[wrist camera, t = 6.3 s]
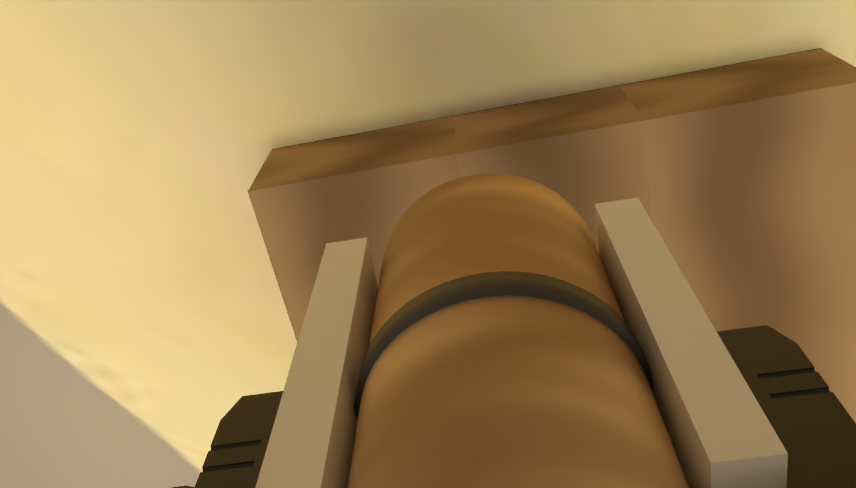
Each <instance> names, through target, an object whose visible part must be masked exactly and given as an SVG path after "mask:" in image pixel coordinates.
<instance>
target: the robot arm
mask: <svg viewBox="0 0 856 488" xmlns="http://www.w3.org/2000/svg"><path fill="white" fill-rule="evenodd" d="M595 214H596V227H597V239H598V251H599V256H600V258H601V261H602V264H603V266H604V269H605V271H606V274H607V276H608V279H609V282H610V284H611V287H612V289H613V292H614V295H615V297H616V300H617V302H618V305H619V307H620V310H621V313H622V315H623V318H624V320H625V322H626V323H627V325H628V326H629V328H630V329H631V330H632V332H633V333H634V335H635V336H636V338H637V340H638V342H639V344H640V346H641V348H642V350H643V353H644V355H645V358H646V360H647V363H648V365H649V368H650V370H651V373H652V377H653V395H654V398H655V400H656V403H657V405H658V408H659V410H660V413H661V416H662V418H663V421H664V423H665V426H666V429H667V431H668V434H669V436H670V439H671V441H672V444H673V447H674V449H675V452H676V454H677V457H678V459H679V462H680V465H681V467H682V470H683V472H684V475H685V477H686V480H687V483H688V485H689V488H856V423H855V421H854V420H853V419H852V417H851V416H850V415H849V413H848V412H847V411H846V409H845V408H844V407H843V405H842V404H841V402H840V401H839V400H838V398H837V397H836V396H835V394H834V393H833V392H830V391H829V386H828V385H827V383H826V382H825V381H824V379H823V378H822V377H821V375H820V374H819V373H818V372H815V369H814V366H813V364H812V363H811V362H810V360H809V359H808V358H807V356H806V355H805V354H804V352H803V351H802V350H801V348H800V347H799V345H798V344H797V343H796V342H794V341H792V340H791V339H789V338H787V337H786V336H784V335H783V334H781V333H779V332H778V331H776V330H774V329H773V328H771V327H770V326H768V325H763V326H755V327H748V328H740V329H732V330H725V331H716V330H715V328H714V326H713V325H712V323H711V321H710V319H709V318H708V316H707V314H706V313H705V311H704V309H703V308H702V306H701V304H700V302H699V301H698V299H697V297H696V296H695V294H694V292H693V290H692V289H691V287H690V285H689V284H688V282H687V280H686V278H685V277H684V275H683V273H682V272H681V270H680V268H679V267H678V265H677V263H676V261H675V260H674V258H673V256H672V255H671V253H670V251H669V249H668V248H667V246H666V244H665V243H664V241H663V239H662V237H661V236H660V234H659V232H658V231H657V229H656V227H655V225H654V224H653V222H652V220H651V219H650V217H649V215H648V214H647V212H646V210H645V208H644V207H643V205H642V203H641V202H640V200H639V198H632V199H625V200H618V201H611V202H604V203H598V204H595ZM377 292H378V283H377V278H376V274H375V269H374V265H373V260H372V256H371V251H370V247H369V242H368V238H360V239H353V240H346V241H340V242H333V243H326V246H325V250H324V253H323V257H322V260H321V264H320V267H319V270H318V274H317V277H316V281H315V284H314V288H313V291H312V295H311V298H310V301H309V305H308V308H307V312H306V315H305V319H304V322H303V325H302V329H301V332H300V336H299V339H298V343H297V346H296V350H295V353H294V356H293V360H292V363H291V367H290V370H289V374H288V377H287V381H286V384H285V387H284V391H280V392H272V393H265V394H257V395H249V396H242V397H241V399H240V400H239V401H238V402H237V403H236V404H235V405H234V406H233V407H232V408H231V410H230V411H229V412H228V413H227V414H226V415H225V416H224V417H223V418H222V419H221V421H220V423H219V426H218V428H217V431H216V434H215V436H214V439H213V441H212V444H211V451H209V452H208V454H207V457H206V459H205V462H204V465H203V472H202V473H200V475H199V478H198V480H197V483H196V485H195V487H190V486H181V487H173V488H347V487H348V480H349V474H350V467H351V461H352V454H353V448H354V441H355V435H356V428H357V418H356V414H355V411H354V403H355V396H356V390H357V384H358V377H359V371H360V368H361V365H362V362H363V358H364V355H365V353H366V351H367V349H368V347H369V344H370V337H371V331H372V324H373V318H374V311H375V305H376V298H377Z"/></svg>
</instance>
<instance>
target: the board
mask: <svg viewBox="0 0 856 488" xmlns="http://www.w3.org/2000/svg"><path fill="white" fill-rule="evenodd" d="M487 173H493V174H508V175H514V176H519V177H523V178H526V179H530V180H533V181H535V182H538V183H540V184H542V185H544V186H546V187H548V188H550V189H551V190H553V191H555V192H556V193H558V194H559V195H560V196H562V197H563V198H564V199H565V200H567V201H568V202H569V203H570V204H571V205H572V206H573V207H574V208H575V209H576V211H577V212H578V213H579V214H580V216H581V217H582V219H583V220H584V222H585V223H586V225H587V227H588V229H589V231H590V233H591V235H592V238H593V240H594V243H595V246H596V248H597V251H598V239H597V227H596V214H595V204H598V203H604V202H611V201H618V200H625V199H632V198H639V200H640V202H641V203H642V205H643V207H644V208H645V210H646V212H647V214H648V215H649V217H650V219H651V220H652V222H653V224H654V225H655V227H656V229H657V231H658V232H659V234H660V236H661V237H662V239H663V241H664V243H665V244H666V246H667V248H668V249H669V251H670V253H671V255H672V256H673V258H674V260H675V261H676V263H677V265H678V267H679V268H680V270H681V272H682V273H683V275H684V277H685V278H686V280H687V282H688V284H689V285H690V287H691V289H692V290H693V292H694V294H695V296H696V297H697V299H698V301H699V302H700V304H701V306H702V308H703V309H704V311H705V313H706V314H707V316H708V318H709V319H710V321H711V323H712V325H713V326H714V328H715V330H716V331H725V330H732V329H740V328H748V327H755V326H763V325H768V326H770V327H771V328H773V329H774V330H776V331H778V332H779V333H781V334H783V335H784V336H786V337H787V338H789V339H791V340H792V341H794V342H796V343H797V344H798V345H799V347H800V348H801V350H802V351H803V352H804V354H805V355H806V356H807V358H808V359H809V360H810V362H811V363H812V364H813V366H814V369H815V372H818V373H819V374H820V375H821V377H822V378H823V379H824V381H825V382H826V383H827V385H828V386H829V391H830V392H833V393H834V394H835V396H836V397H837V398H838V400H839V401H840V402H841V404H842V405H843V407H844V408H845V409H846V411H847V412H848V413H849V415H850V416H851V417H852V419H853V420H854V421H855V423H856V67H854V66H852V65H850V64H849V63H847V62H845V61H843V60H841V59H839V58H838V57H836V56H834V55H832V54H830V53H828V52H827V51H825V50H823V49H821V48H820V49H814V50H809V51H803V52H798V53H793V54H787V55H782V56H776V57H771V58H765V59H760V60H755V61H749V62H744V63H738V64H733V65H727V66H722V67H717V68H711V69H706V70H700V71H695V72H690V73H684V74H679V75H673V76H668V77H662V78H657V79H652V80H646V81H641V82H635V83H630V84H624V85H619V86H614V87H608V88H603V89H597V90H592V91H586V92H581V93H576V94H570V95H565V96H559V97H554V98H549V99H543V100H538V101H532V102H527V103H521V104H516V105H511V106H505V107H500V108H494V109H489V110H483V111H478V112H473V113H467V114H462V115H456V116H451V117H446V118H440V119H435V120H429V121H424V122H418V123H413V124H408V125H402V126H397V127H391V128H386V129H380V130H375V131H370V132H364V133H359V134H353V135H348V136H342V137H337V138H332V139H326V140H321V141H315V142H310V143H305V144H299V145H294V146H288V147H283V148H277V149H272V150H271V152H270V154H269V156H268V157H267V159H266V161H265V163H264V164H263V166H262V168H261V170H260V171H259V173H258V175H257V176H256V178H255V180H254V182H253V183H252V185H251V187H250V189H249V190H248V193H249V196H250V199H251V202H252V205H253V208H254V211H255V214H256V217H257V221H258V224H259V227H260V230H261V233H262V236H263V239H264V242H265V245H266V248H267V251H268V254H269V257H270V260H271V263H272V266H273V269H274V272H275V275H276V279H277V282H278V285H279V288H280V291H281V294H282V297H283V300H284V303H285V306H286V309H287V312H288V315H289V318H290V321H291V324H292V327H293V330H294V333H295V337H296V340H297V343H298V339H299V336H300V332H301V329H302V325H303V322H304V319H305V315H306V312H307V308H308V305H309V301H310V298H311V295H312V291H313V288H314V284H315V281H316V277H317V274H318V270H319V267H320V264H321V260H322V257H323V253H324V250H325V246H326V243H333V242H340V241H346V240H353V239H360V238H368V242H369V247H370V251H371V256H372V260H373V265H374V269H375V274H376V278H377V283H378V285H379V279H380V272H381V266H382V259H383V253H384V249H385V246H386V242H387V239H388V237H389V235H390V233H391V231H392V229H393V227H394V225H395V224H396V222H397V221H398V219H399V218H400V216H401V215H402V214H403V213H404V212H405V211H406V210H407V208H408V207H409V206H410V205H411V204H413V203H414V202H415V201H416V200H417V199H418V198H420V197H421V196H422V195H424V194H425V193H427V192H428V191H430V190H431V189H433V188H435V187H437V186H439V185H441V184H443V183H446V182H448V181H451V180H454V179H457V178H461V177H465V176H470V175H476V174H487ZM598 253H599V251H598Z"/></svg>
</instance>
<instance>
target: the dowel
mask: <svg viewBox="0 0 856 488" xmlns="http://www.w3.org/2000/svg"><path fill="white" fill-rule="evenodd" d="M354 411H355V414H356V418H357V428H356V435H355V441H354V448H353V454H352V461H351V467H350V474H349V480H348V487H347V488H689V485H688V483H687V480H686V477H685V475H684V472H683V470H682V467H681V465H680V462H679V459H678V457H677V454H676V452H675V449H674V447H673V444H672V441H671V439H670V436H669V434H668V431H667V429H666V426H665V423H664V421H663V418H662V416H661V413H660V410H659V408H658V405H657V403H656V400H655V398H654V395H653V377H652V373H651V370H650V368H649V365H648V363H647V360H646V358H645V355H644V353H643V350H642V348H641V346H640V344H639V342H638V340H637V338H636V336H635V335H634V333H633V332H632V330H631V329H630V328H629V326H628V325H627V323H626V322H625V320H624V318H623V315H622V313H621V310H620V307H619V305H618V302H617V300H616V297H615V295H614V292H613V289H612V287H611V284H610V282H609V279H608V276H607V274H606V271H605V269H604V266H603V264H602V261H601V258H600V256H599V253H598V251H597V248H596V246H595V243H594V240H593V238H592V235H591V233H590V231H589V229H588V227H587V225H586V223H585V222H584V220H583V219H582V217H581V216H580V214H579V213H578V212H577V211H576V209H575V208H574V207H573V206H572V205H571V204H570V203H569V202H568V201H567V200H565V199H564V198H563V197H562V196H560V195H559V194H558V193H556V192H555V191H553V190H551V189H550V188H548V187H546V186H544V185H542V184H540V183H538V182H535V181H533V180H530V179H526V178H523V177H519V176H514V175H508V174H493V173H487V174H476V175H470V176H465V177H461V178H457V179H454V180H451V181H448V182H446V183H443V184H441V185H439V186H437V187H435V188H433V189H431V190H430V191H428V192H427V193H425V194H424V195H422V196H421V197H420V198H418V199H417V200H416V201H415V202H414V203H413V204H411V205H410V206H409V207H408V208H407V210H406V211H405V212H404V213H403V214H402V215H401V216H400V218H399V219H398V221H397V222H396V224H395V225H394V227H393V229H392V231H391V233H390V235H389V237H388V239H387V242H386V246H385V249H384V253H383V259H382V266H381V272H380V279H379V285H378V292H377V298H376V305H375V311H374V318H373V324H372V331H371V337H370V344H369V347H368V349H367V351H366V353H365V355H364V358H363V362H362V365H361V368H360V371H359V377H358V384H357V390H356V396H355V403H354Z"/></svg>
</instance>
